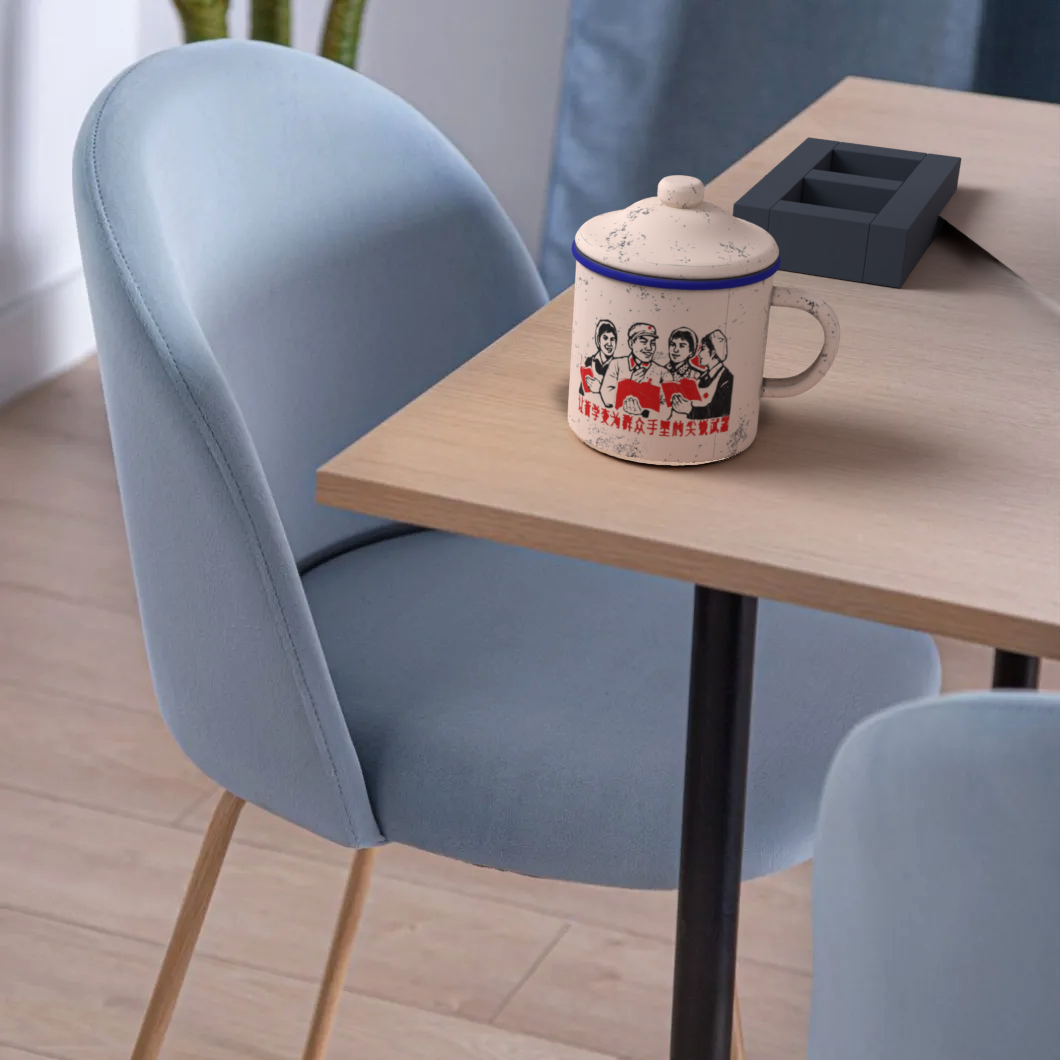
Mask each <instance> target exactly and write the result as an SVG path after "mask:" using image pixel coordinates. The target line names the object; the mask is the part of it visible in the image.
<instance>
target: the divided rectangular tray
mask: <svg viewBox="0 0 1060 1060" xmlns="http://www.w3.org/2000/svg"><path fill="white" fill-rule="evenodd" d="M961 165H962V157H960V156H952V155H945V154H937V153H928V152H923V151H922V152H921V151H915V150H907V149H899V148H891V147H885V146H884V147H883V146H875V145H868V144H861V143H855V142H846V141H838V140H832V139H824V138H816V137H809V136H808V137H806V138H805V140H803V141H802V142H801V143H800V144H798V146H797V147H795V149H793V150H792V151H791V152H790V153H789V154H788V155H787V156H786V157H784V158H783V159H782V160H781V161H780V162H779V163H778V164H776V165H775V166H774V167H773V168H772V169H771V170H770V171H768V172H767V173H766V174H765V176H763V177H762V178H761V179H759V181H758V182H756V183H755V184H754V185H753V186H752V187H750V189H749V190H748V191H746V192H745V193H744V194H743V195H742V196H741V197H740V198H739V199H737V200H736V201H735V202H734V203H733V207H732V209H733V210H732V215H733V216H734V217H736V218H739V219H742V220H745V221H748V222H750V223H753V224H755V225H757V226H759V227H761V228H762V229H764V230H765V231H767V232H768V233H769V234H770V235H771V236H772V237H773V238H774V240H775V242H776V244H777V246H778V249H779V254H780V257H781V265H780V267H779V269H778V271H786V272H792V273H799V274H804V275H805V274H806V275H810V276H811V275H812V276H819V277H824V278H830V279H838V280H842V281H852V282H857V283H863V284H864V283H865V284H870V285H877V286H883V287H890V288H896V289H901V288H902V286H903V284H904V283H905V281H907V278H908V277H909V276H910V274H911V273H912V271H913V270H914V269H915V267H916V266H917V264H918V263H919V261H920V259H922V257H923V255H924V254H925V252H926V251H927V249H928V248H929V246H930V245H931V244H932V243H933V241H934V239H935V237H936V236H937V235H938V233H939V232H940V231H941V229H942V227H943V226H944V224H945V223H946V221H947V219H945V218H943V216H941V213H942V212H943V210H944V209H945V207H946V206H947V204H948V203H949V202H950V201H951V199H952V198H953V196H954V195H955V193H956V192H957V190H958V185H959V177H960V170H961Z"/></svg>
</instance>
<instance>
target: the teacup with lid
mask: <svg viewBox="0 0 1060 1060" xmlns="http://www.w3.org/2000/svg"><path fill="white" fill-rule="evenodd" d="M705 190H706V189H705V185H704V183H703V182H702V181H701V179H700V178H697V177H694V176H691V175H690V176H689V175H682V174H681V175H680V174H678V175H677V174H675V175H668V176H665V177H663V178H662V179H661V180H660V181H659V183H658V185H657V194H656V196H651V197H646V198H643V199H641V200H638V201H636V202H634V203H632V204H631V205H629V206H627V207H626V208H623V209H617V210H613V211H607V212H604V213H601V214H598V215H596V216H593V217H592V218H590V219H588V220H587V221H585V222H584V223H583V224H582V225H581V226H580V227H579V228H578V230H577V232H576V234H575V237H574V239H573V240H572V243H571V249H570V250H571V254H572V256H573V258H574V259H575V275H574V276H575V279H574V294H573V296H574V297H573V310H572V311H573V314H572V330H571V348H570V349H571V350H570V363H569V365H570V367H569V382H568V383H569V384H568V399H567V400H568V402H567V424H568V423H569V424H568V426H569V428H570V427H571V429H572V430H573V431H574V432H575V433H576V434H577V435H578V436H579V437H580V438H582V439H583V440H585V441H587V442H588V443H590V444H592V445H594V446H596V447H599V448H600V449H603V450H607V451H610V452H613V453H616V454H619V455H624V456H627V457H633V458H640V459H644V460H650V461H662V462H678V463H683V462H685V463H690V462H692V463H695V462H705V461H713V460H719V459H722V458H727V457H731V456H733V455H735V454H738V453H739V454H741V453H742V451H743V452H744V451H745V450H747V449H748V448H749V447H750V446H751V444H753V442H754V440H755V438H756V436H757V433H758V425H759V423H758V422H759V416H760V407H761V406H760V405H761V398H763V399H764V398H765V399H766V398H767V399H784V398H785V399H786V398H793V397H796V396H799V395H802V394H804V393H807V392H808V391H810V390H811V389H813V388H814V387H815V386H817V384H819V382H821V381H822V379H824V377H826V375H827V373H828V372H829V370H830V369H831V367H832V366H833V363H834V362H835V359H836V356H837V354H838V351H839V347H840V341H841V325H840V321H839V318H838V315H837V313H836V311H835V310H834V308H833V307H832V306H831V304H830V303H829V302H828V301H826V300H825V299H824V298H823V297H822V296H820V295H818V294H817V293H815V292H813V291H810V290H807V289H803V288H798V287H789V286H778V285H776V286H775V285H774V276H775V274H776V273H777V272H778V271H779V267H780V265H781V257H780V254H779V249H778V246H777V244H776V242H775V240H774V238H773V237H772V236H771V235H770V234H769V233H768V232H767V231H765V230H764V229H762V228H761V227H759V226H757V225H755V224H753V223H750V222H748V221H745V220H742V219H739V218H736V217H734V216H733V214H732V213H730V211H728V210H726V208H724V207H722V206H720V205H719V204H717V203H715V202H713V201H710V200H708V199H705V192H706V191H705ZM771 307H778V308H779V307H781V308H792V309H797V310H800V311H804V312H806V313H808V314H810V315H812V316H813V317H814V318H815V320H817V322H819V324H820V326H821V327H822V331H823V334H824V338H823V339H824V340H823V345H822V348H821V350H820V352H819V354H818V355H817V357H816V358H815V360H814V361H813V362H812V364H810V365H809V366H808V367H807V368H806V369H805V370H803V371H802V372H800V373H798V374H795V375H792V376H788V377H765V376H764V369H765V359H766V350H767V344H768V343H767V342H768V332H769V323H770V314H771ZM571 429H570V430H571ZM572 430H571V431H572ZM740 452H741V453H740ZM739 454H738V455H739ZM735 456H736V455H735ZM733 457H734V456H733ZM731 458H732V457H731Z"/></svg>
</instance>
